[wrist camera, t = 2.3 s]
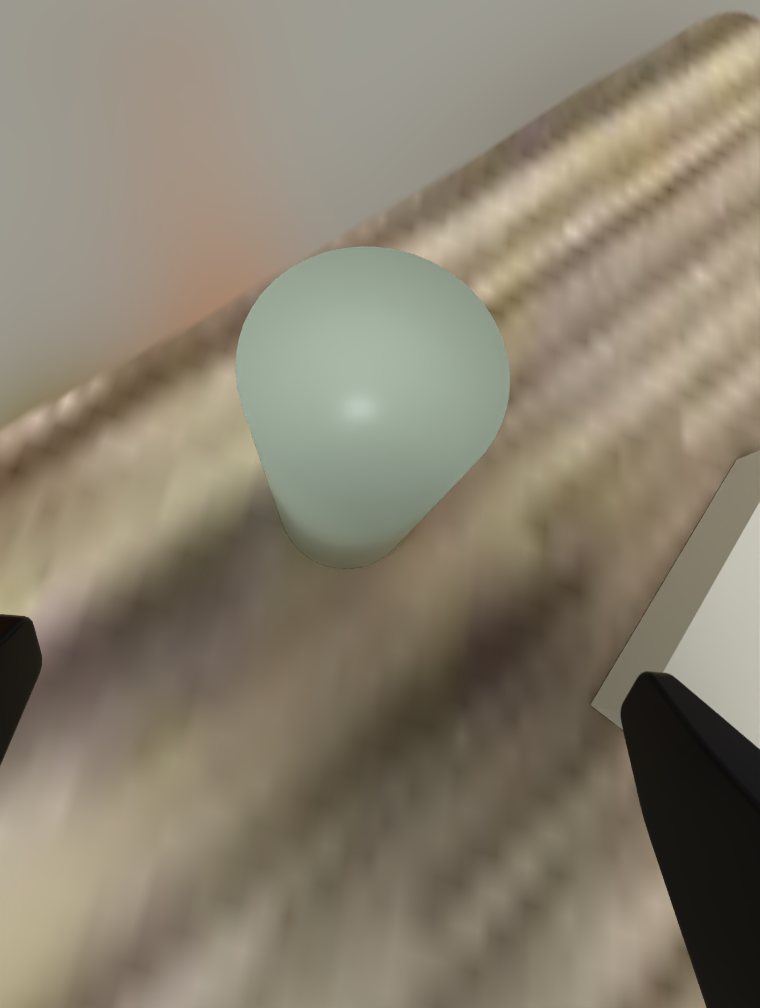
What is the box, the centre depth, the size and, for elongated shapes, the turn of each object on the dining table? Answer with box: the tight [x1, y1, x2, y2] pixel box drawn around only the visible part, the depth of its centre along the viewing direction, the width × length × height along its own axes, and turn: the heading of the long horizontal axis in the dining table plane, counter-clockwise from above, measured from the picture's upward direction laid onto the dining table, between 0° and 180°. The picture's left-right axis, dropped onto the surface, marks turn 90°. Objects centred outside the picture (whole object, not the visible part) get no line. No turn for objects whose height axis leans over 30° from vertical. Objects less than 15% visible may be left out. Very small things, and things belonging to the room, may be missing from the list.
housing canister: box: [236, 246, 510, 569], centre depth 15 cm, size 5×5×11 cm
